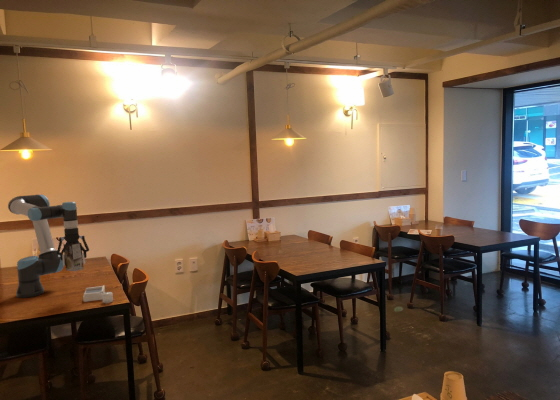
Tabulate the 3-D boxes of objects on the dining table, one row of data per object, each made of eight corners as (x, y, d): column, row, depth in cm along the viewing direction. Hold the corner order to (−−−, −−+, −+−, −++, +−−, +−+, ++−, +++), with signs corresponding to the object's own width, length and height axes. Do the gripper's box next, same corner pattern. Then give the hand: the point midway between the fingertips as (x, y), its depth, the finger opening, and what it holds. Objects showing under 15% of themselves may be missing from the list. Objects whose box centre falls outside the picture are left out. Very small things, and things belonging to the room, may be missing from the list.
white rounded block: (102, 303, 247) (101, 295, 247) (102, 301, 253) (102, 292, 252) (112, 302, 249) (112, 294, 249) (113, 299, 254) (112, 291, 254)
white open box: (83, 301, 252) (82, 293, 252) (85, 295, 265) (85, 287, 265) (103, 299, 256) (103, 291, 255) (105, 292, 269) (104, 285, 268)
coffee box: (84, 269, 259) (82, 242, 258) (74, 271, 254) (71, 244, 253) (75, 268, 264) (73, 242, 263) (65, 270, 259) (62, 243, 258)
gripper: (48, 230, 250) (52, 267, 252) (91, 226, 257) (94, 263, 259) (51, 228, 258) (54, 265, 259) (92, 225, 264) (95, 261, 266)
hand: (74, 264), depth 259 cm, fingers closed on coffee box, 10 cm apart
